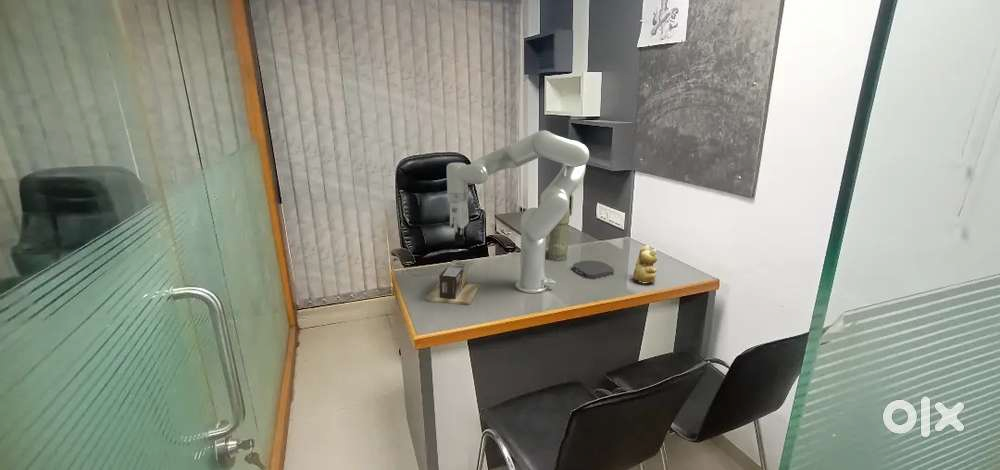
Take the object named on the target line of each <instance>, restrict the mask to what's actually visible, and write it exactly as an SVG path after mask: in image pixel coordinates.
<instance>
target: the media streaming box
mask: <svg viewBox="0 0 1000 470" xmlns="http://www.w3.org/2000/svg"><path fill="white" fill-rule="evenodd" d="M573 270H574V271H573ZM572 271H573V272H575V273H576V272H577V273H576V274H578V275H579V276H581V275H582V277H583V276H584V277H583V278H585V277H586V278H585V279H588V278H589V280H597V279H596V278H598V279H602V278H601V277H604V278H607V277H606V276H609V275H612V276H614V275H615V274H614V272H615V270H614V267H612V266H611V265H609V264H607V263H605V262H604V261H603V262H602V261H598V260H589V259H588V260H582V261H579V262H575V263H573V265H572ZM609 277H610V276H609Z"/></svg>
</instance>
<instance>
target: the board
mask: <svg viewBox="0 0 1000 470" xmlns="http://www.w3.org/2000/svg"><path fill="white" fill-rule="evenodd" d="M479 289H480V284H472V283H467V284H466V285H465V286H464V288H463V289H462V291H461V292H460V293H459V295H458V296H457V298H456V299H452V298H450V299H447V298H440V285H439V282H438V283H437V285H436V286H435V287H434V288H433V290H432V291H431V292H430V293H429V294H428V295H427V296H426V302H433V303H446V304H454V305H464V306H465V305H467V306H470V304H471V303H472V300H473V299H474V297H475V295H476V294H477V292H478V291H479Z"/></svg>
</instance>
